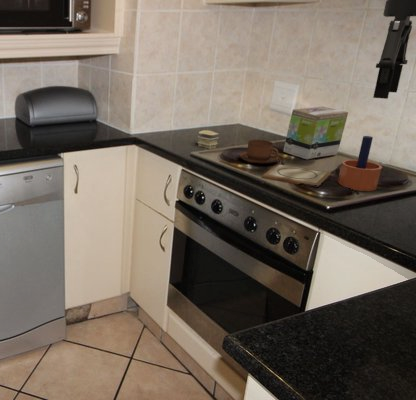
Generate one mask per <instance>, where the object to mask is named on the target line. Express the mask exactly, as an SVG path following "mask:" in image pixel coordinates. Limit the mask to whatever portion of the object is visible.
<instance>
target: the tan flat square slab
mask: <svg viewBox="0 0 416 400" xmlns="http://www.w3.org/2000/svg"><path fill="white" fill-rule="evenodd" d="M329 176H330V177H332V173H331V172H326V171H320V170H315V169H308V168H303V167H297V166H292V165H285V164H279V163H277V164H275V165H274V166H273V167H270V169H269V170H267V171H266V172H265V173H263V174H261V178H262V179H267V180H272V181H277V182H283V183H289V184H294V185H298V184H300V183H304V184H310V185H317V186H319V185H321V183H322V182H324V181H325V180H326V179H327V178H328V177H329ZM330 177H329V178H330ZM329 178H328V179H329ZM328 179H327V180H328ZM327 180H326V181H327ZM326 181H325V182H326ZM325 182H324V183H325ZM321 186H322V185H321Z"/></svg>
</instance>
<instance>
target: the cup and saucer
mask: <svg viewBox="0 0 416 400" xmlns="http://www.w3.org/2000/svg"><path fill="white" fill-rule="evenodd" d="M273 151H275V153H273ZM245 155H247V156H248V158H249V159H247V158H244V157H243V156H245ZM238 157H239V158H240V159H241V160H243V161H245V162H248V163H251V164H256V163H257V165H268V164H273V163H276V162H278V161H279V159H280V156H279V150H278V149H277V148H275V147H274V142H272V141H269V140H264V139H251V140H248V142H247V150H244V151H240V152H239V153H238ZM270 158H272V161H267V160H269V159H270Z"/></svg>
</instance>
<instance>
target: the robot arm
mask: <svg viewBox="0 0 416 400" xmlns="http://www.w3.org/2000/svg"><path fill="white" fill-rule="evenodd" d="M382 13H383V17H385V18H391V17H392V18H393V17H394V19H393V20H390V22H389V26H388V29H387V34H386V39H385V41H384V44H383V49H382V52H381V55H380V59H379V61H378V63H376V64H375V69H378V72H377V78H376V82H375V88H374V91H373V96H372V98H374V99H385V100H388V98H389V95H390V93H398V90H399V89H398V88H399V85H400V79H401V76H402V71H403V67H404V65H407V64H408V59H407V57H406V55H407V51H408V44H409V41H410V34H411V32H412V28H413V21H412V20H411V17H416V0H385V3H384V9H383V12H382Z"/></svg>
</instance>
